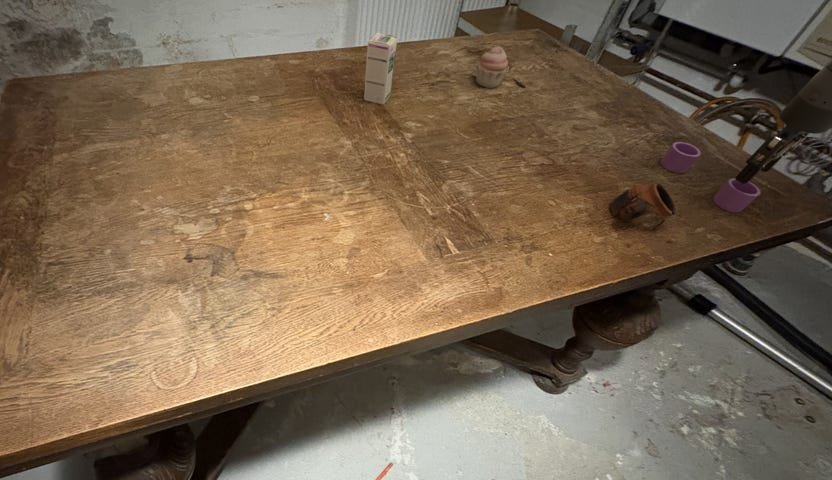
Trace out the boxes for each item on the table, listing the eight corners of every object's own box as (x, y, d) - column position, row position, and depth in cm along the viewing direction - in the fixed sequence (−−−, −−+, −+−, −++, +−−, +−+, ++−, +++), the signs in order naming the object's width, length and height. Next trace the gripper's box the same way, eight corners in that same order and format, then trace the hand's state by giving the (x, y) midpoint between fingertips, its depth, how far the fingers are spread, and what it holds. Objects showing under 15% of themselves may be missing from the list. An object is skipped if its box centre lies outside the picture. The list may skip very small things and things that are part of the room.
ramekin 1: (669, 156, 98) (682, 139, 95) (691, 169, 95) (705, 152, 92) (655, 162, 96) (667, 145, 93) (677, 176, 93) (691, 159, 90)
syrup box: (384, 105, 105) (391, 45, 94) (362, 100, 107) (367, 39, 95) (390, 95, 109) (398, 36, 98) (370, 90, 110) (375, 31, 99)
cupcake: (484, 93, 113) (496, 55, 105) (464, 78, 118) (474, 41, 110) (510, 88, 116) (524, 50, 108) (489, 73, 121) (501, 37, 113)
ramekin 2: (721, 191, 90) (737, 175, 87) (748, 207, 87) (765, 190, 84) (707, 199, 88) (723, 182, 85) (734, 215, 85) (751, 198, 82)
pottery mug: (616, 195, 88) (658, 173, 82) (639, 233, 87) (684, 214, 81) (597, 205, 80) (641, 182, 74) (622, 247, 79) (670, 227, 73)
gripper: (831, 118, 67) (752, 196, 80) (867, 99, 72) (787, 175, 85) (783, 98, 71) (714, 175, 84) (819, 81, 76) (750, 156, 89)
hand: (751, 175), depth 84 cm, fingers open, 8 cm apart
